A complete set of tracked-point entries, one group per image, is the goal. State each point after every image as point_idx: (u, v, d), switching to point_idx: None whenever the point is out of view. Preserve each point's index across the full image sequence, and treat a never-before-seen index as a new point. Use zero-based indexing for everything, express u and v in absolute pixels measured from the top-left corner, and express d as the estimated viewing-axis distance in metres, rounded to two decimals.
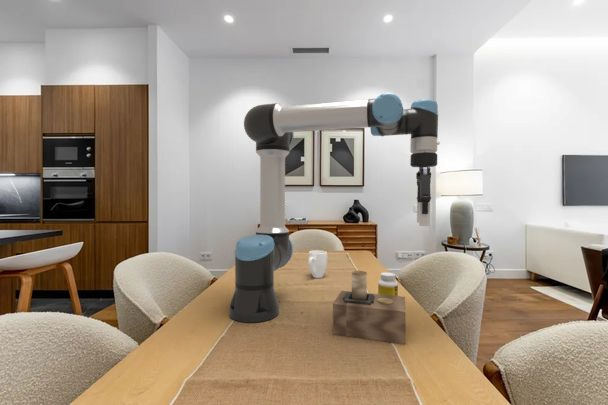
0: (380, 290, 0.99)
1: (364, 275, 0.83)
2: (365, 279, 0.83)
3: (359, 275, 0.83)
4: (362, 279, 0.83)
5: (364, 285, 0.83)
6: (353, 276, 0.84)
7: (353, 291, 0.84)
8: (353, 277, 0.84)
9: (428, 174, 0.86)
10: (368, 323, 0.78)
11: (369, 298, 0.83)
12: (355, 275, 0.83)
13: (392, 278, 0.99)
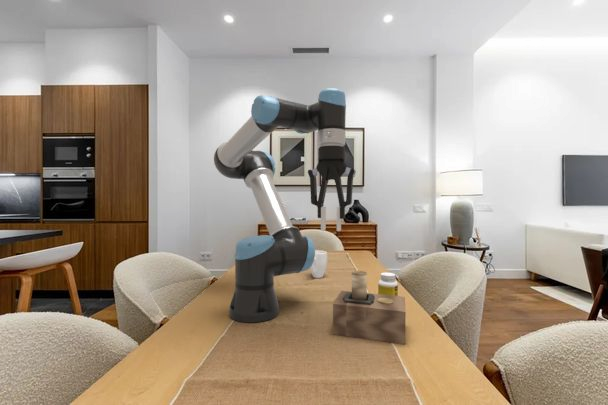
0: (380, 290, 0.99)
1: (364, 275, 0.83)
2: (365, 279, 0.83)
3: (359, 275, 0.83)
4: (362, 279, 0.83)
5: (364, 285, 0.83)
6: (353, 276, 0.84)
7: (353, 291, 0.84)
8: (353, 277, 0.84)
9: None
10: (368, 323, 0.78)
11: (369, 298, 0.83)
12: (355, 275, 0.83)
13: (392, 278, 0.99)
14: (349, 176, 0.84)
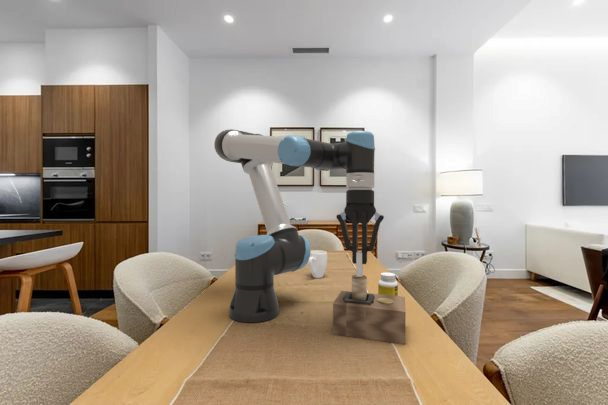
0: (380, 290, 0.99)
1: (364, 279, 0.83)
2: (365, 283, 0.83)
3: (359, 279, 0.83)
4: (362, 283, 0.83)
5: (364, 289, 0.83)
6: (353, 280, 0.84)
7: (353, 295, 0.84)
8: (353, 281, 0.84)
9: None
10: (368, 323, 0.78)
11: (369, 298, 0.83)
12: (355, 279, 0.83)
13: (392, 278, 0.99)
14: (377, 222, 0.82)
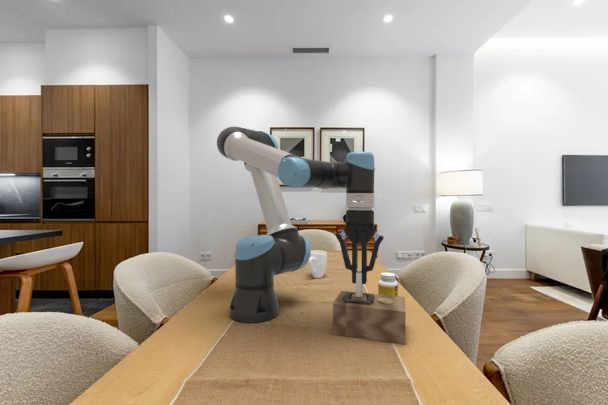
0: (380, 290, 0.99)
1: (364, 299, 0.83)
2: None
3: (359, 299, 0.83)
4: None
5: None
6: None
7: None
8: None
9: None
10: (368, 323, 0.78)
11: (369, 298, 0.83)
12: None
13: (392, 278, 0.99)
14: (377, 242, 0.82)
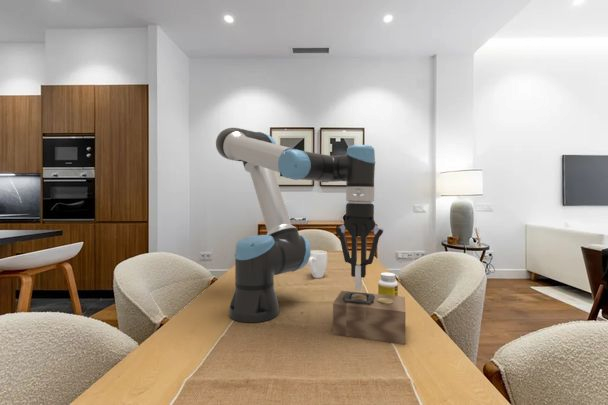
0: (380, 290, 0.99)
1: (364, 299, 0.83)
2: None
3: (359, 299, 0.83)
4: None
5: None
6: None
7: None
8: None
9: (339, 235, 0.85)
10: (368, 323, 0.78)
11: (369, 298, 0.83)
12: None
13: (392, 278, 0.99)
14: (376, 236, 0.82)
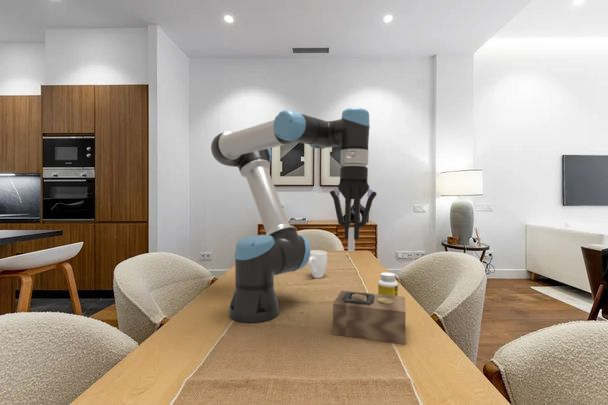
0: (380, 290, 0.99)
1: (364, 299, 0.83)
2: None
3: (359, 299, 0.83)
4: None
5: None
6: None
7: None
8: None
9: (333, 198, 0.87)
10: (368, 323, 0.78)
11: (369, 298, 0.83)
12: None
13: (392, 278, 0.99)
14: (369, 198, 0.83)
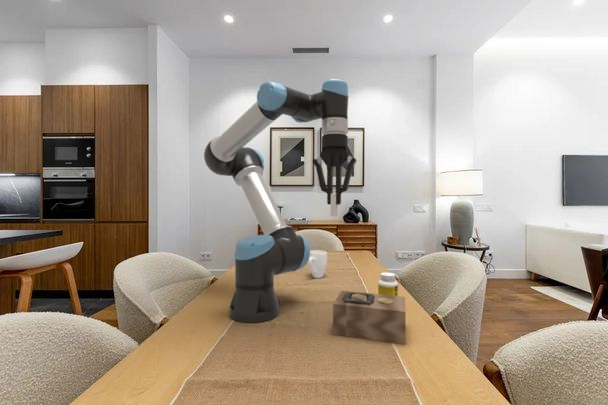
0: (380, 290, 0.99)
1: (364, 299, 0.83)
2: None
3: (359, 299, 0.83)
4: None
5: None
6: None
7: None
8: None
9: None
10: (368, 323, 0.78)
11: (369, 298, 0.83)
12: None
13: (392, 278, 0.99)
14: (349, 164, 0.88)
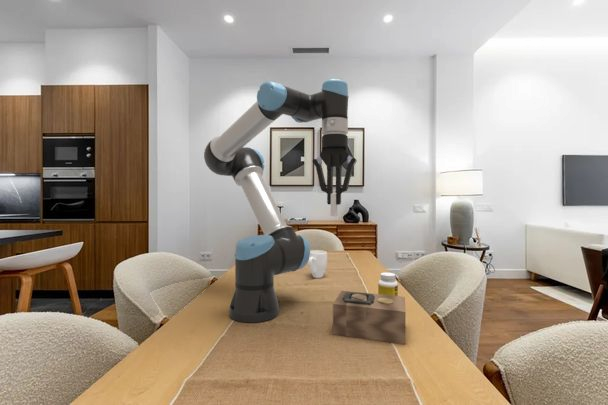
0: (380, 290, 0.99)
1: (364, 299, 0.83)
2: None
3: (359, 299, 0.83)
4: None
5: None
6: None
7: None
8: None
9: None
10: (368, 323, 0.78)
11: (369, 298, 0.83)
12: None
13: (392, 278, 0.99)
14: (349, 164, 0.88)
